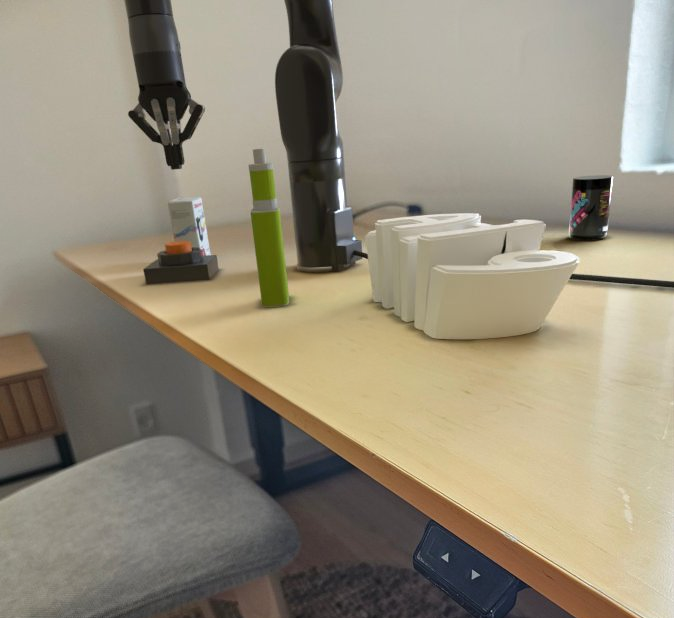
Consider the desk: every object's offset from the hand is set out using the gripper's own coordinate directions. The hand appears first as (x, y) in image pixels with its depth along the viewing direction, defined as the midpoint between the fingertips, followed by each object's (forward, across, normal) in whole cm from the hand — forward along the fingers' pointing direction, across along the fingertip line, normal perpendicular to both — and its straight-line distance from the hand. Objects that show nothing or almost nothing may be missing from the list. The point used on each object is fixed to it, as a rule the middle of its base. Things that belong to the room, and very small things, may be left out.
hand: (176, 168), depth 112 cm
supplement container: (+18, +73, +4) cm, 75 cm away
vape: (+18, +17, -28) cm, 38 cm away
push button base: (+17, -1, -4) cm, 18 cm away
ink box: (+18, -2, +10) cm, 20 cm away
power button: (+13, -1, -5) cm, 14 cm away
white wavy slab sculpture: (+18, +41, -39) cm, 59 cm away
